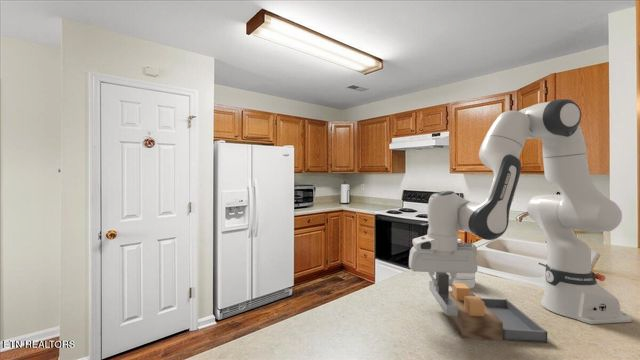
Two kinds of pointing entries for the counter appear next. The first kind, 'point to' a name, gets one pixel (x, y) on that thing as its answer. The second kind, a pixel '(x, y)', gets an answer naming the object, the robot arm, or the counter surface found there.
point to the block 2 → (474, 306)
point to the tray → (515, 322)
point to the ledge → (477, 323)
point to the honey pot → (464, 277)
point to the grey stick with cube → (444, 294)
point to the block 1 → (460, 291)
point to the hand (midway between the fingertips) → (442, 285)
